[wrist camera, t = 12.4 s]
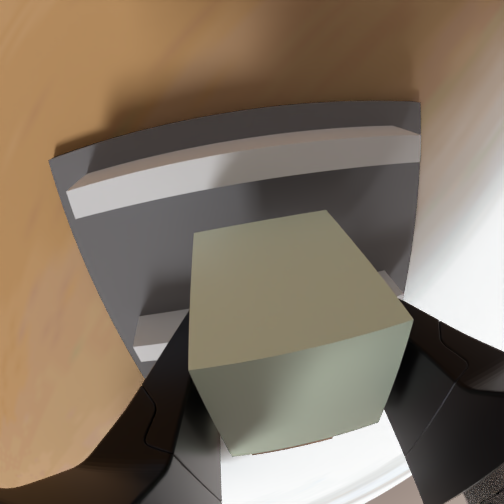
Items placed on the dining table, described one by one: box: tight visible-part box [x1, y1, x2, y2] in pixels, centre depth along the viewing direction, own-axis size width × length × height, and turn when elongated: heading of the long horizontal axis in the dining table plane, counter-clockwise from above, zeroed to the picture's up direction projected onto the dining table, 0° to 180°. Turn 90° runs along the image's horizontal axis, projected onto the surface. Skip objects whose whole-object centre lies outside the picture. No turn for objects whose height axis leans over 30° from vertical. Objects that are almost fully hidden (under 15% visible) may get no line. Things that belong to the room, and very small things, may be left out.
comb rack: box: [49, 101, 421, 379], centre depth 14 cm, size 17×15×2 cm
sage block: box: [188, 210, 414, 457], centre depth 8 cm, size 4×4×5 cm
